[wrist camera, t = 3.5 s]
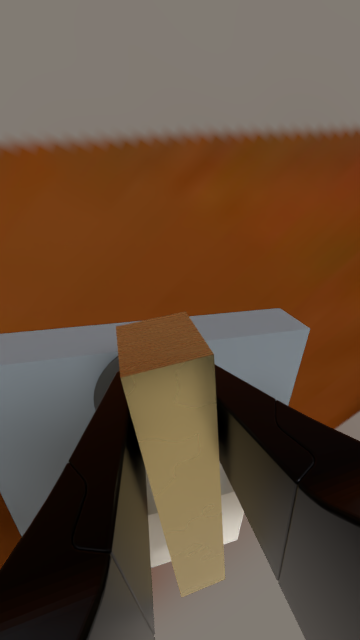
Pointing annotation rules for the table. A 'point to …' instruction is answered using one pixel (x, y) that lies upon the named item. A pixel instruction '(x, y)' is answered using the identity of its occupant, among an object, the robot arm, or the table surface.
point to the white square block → (230, 520)
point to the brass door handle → (177, 439)
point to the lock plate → (93, 381)
